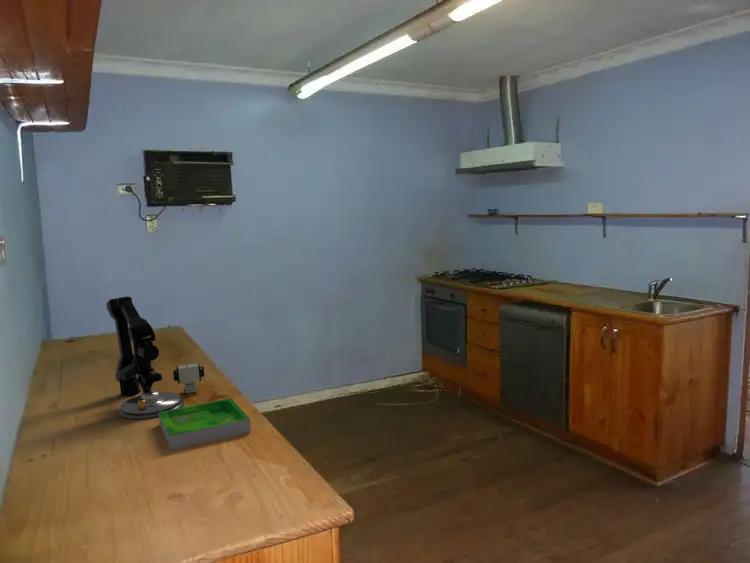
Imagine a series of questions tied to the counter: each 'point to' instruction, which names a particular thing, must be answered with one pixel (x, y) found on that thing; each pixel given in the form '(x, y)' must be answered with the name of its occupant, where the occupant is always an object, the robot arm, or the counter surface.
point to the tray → (203, 423)
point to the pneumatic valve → (189, 376)
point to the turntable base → (148, 416)
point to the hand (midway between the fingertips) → (146, 395)
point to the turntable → (140, 408)
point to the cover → (151, 396)
